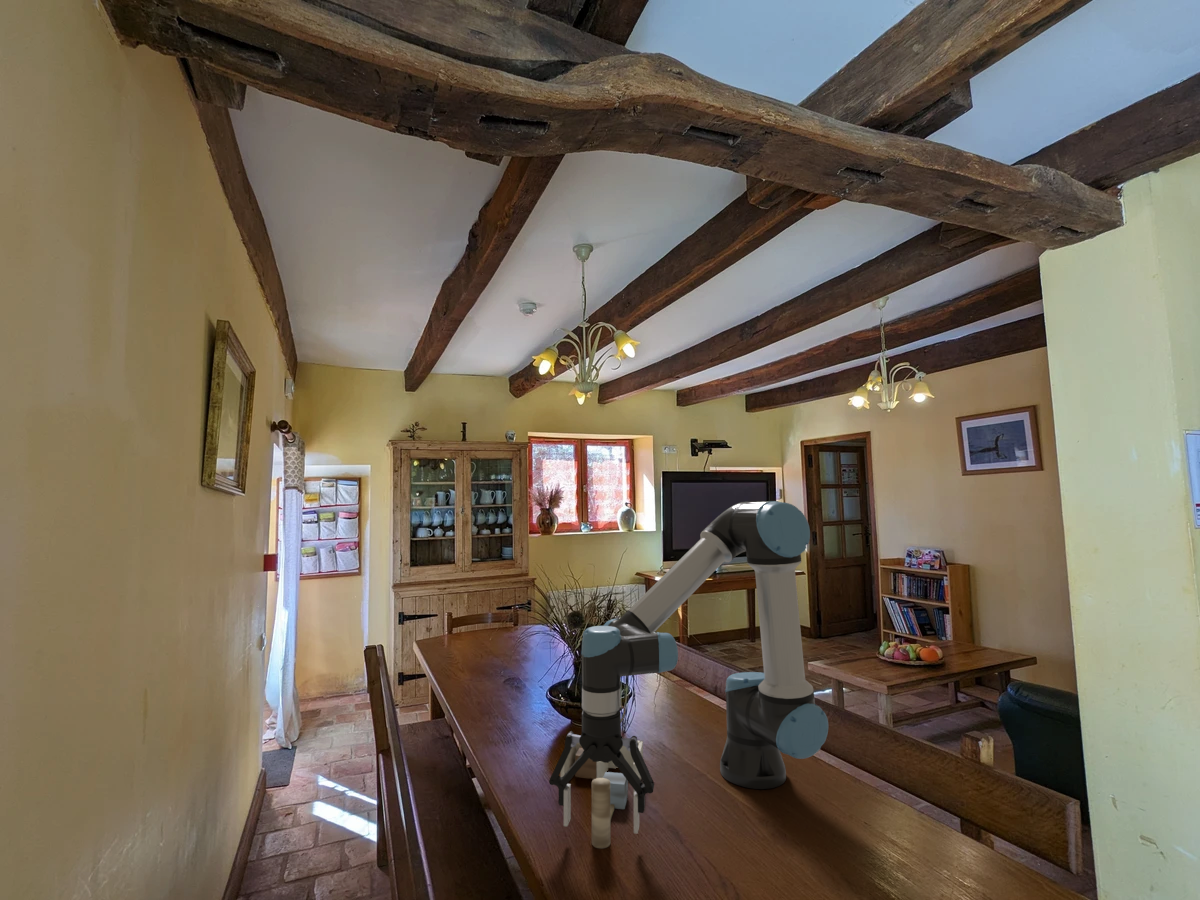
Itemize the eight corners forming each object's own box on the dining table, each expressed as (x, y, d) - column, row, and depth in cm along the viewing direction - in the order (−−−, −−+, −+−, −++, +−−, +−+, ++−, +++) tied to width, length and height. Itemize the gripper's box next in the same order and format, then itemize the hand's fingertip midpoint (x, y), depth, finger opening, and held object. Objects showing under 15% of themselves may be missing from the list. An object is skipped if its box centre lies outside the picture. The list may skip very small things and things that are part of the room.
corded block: (605, 795, 128) (605, 743, 129) (627, 797, 127) (627, 745, 128) (586, 846, 109) (586, 785, 110) (612, 849, 108) (612, 787, 109)
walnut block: (579, 767, 142) (580, 746, 142) (600, 769, 141) (600, 748, 141) (575, 777, 137) (575, 755, 137) (596, 779, 136) (596, 757, 136)
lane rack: (573, 763, 144) (573, 736, 145) (643, 768, 141) (642, 740, 142) (560, 788, 131) (560, 758, 132) (637, 795, 128) (636, 764, 129)
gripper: (666, 707, 114) (668, 821, 112) (544, 699, 118) (543, 809, 116) (664, 721, 106) (665, 843, 104) (533, 712, 111) (532, 830, 109)
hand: (601, 826), depth 110 cm, fingers open, 13 cm apart
